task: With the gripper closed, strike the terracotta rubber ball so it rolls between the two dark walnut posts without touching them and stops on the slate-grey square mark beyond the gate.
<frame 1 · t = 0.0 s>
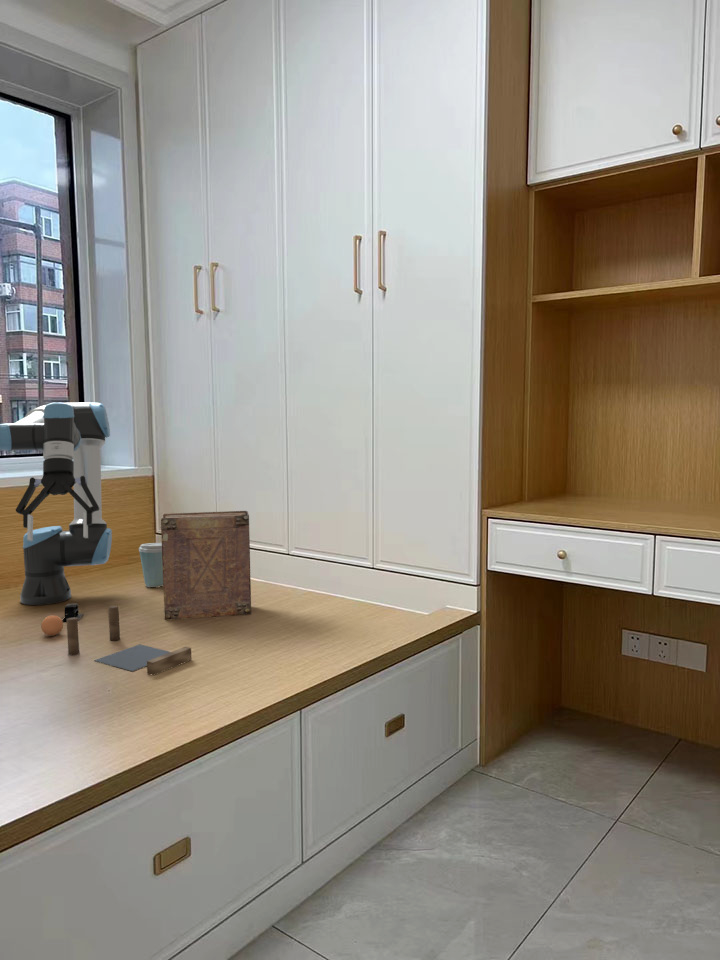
hand: (58, 539, 189), 28 cm above the counter, tool tilted 20°, fingers open, 13 cm apart
outer post: (73, 653, 184), on the counter
book: (208, 613, 219), on the counter
inner post: (115, 639, 194), on the counter
black boxy device: (72, 620, 215), on the counter
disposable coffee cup: (156, 586, 253), on the counter
stopper wall: (170, 666, 174), on the counter
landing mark: (136, 657, 180), on the counter
ball: (52, 625, 198), on the counter
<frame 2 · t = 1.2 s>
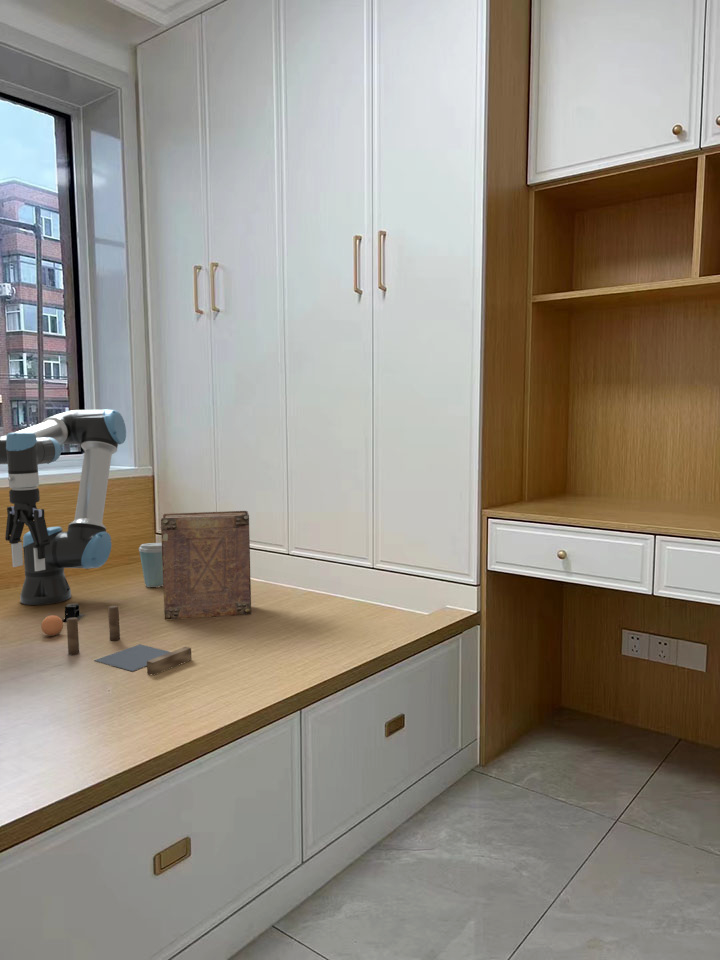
hand: (28, 568, 202), 18 cm above the counter, tool pointing down, fingers open, 10 cm apart
nothing on the counter moved.
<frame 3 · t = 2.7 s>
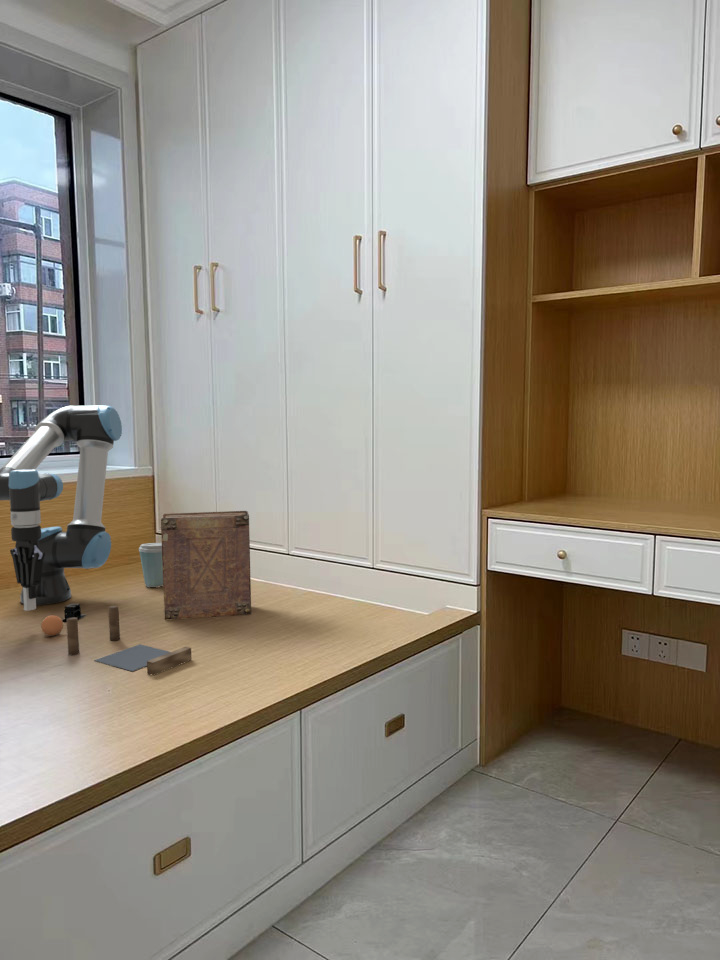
hand: (30, 609, 203), 6 cm above the counter, tool pointing down, fingers closed
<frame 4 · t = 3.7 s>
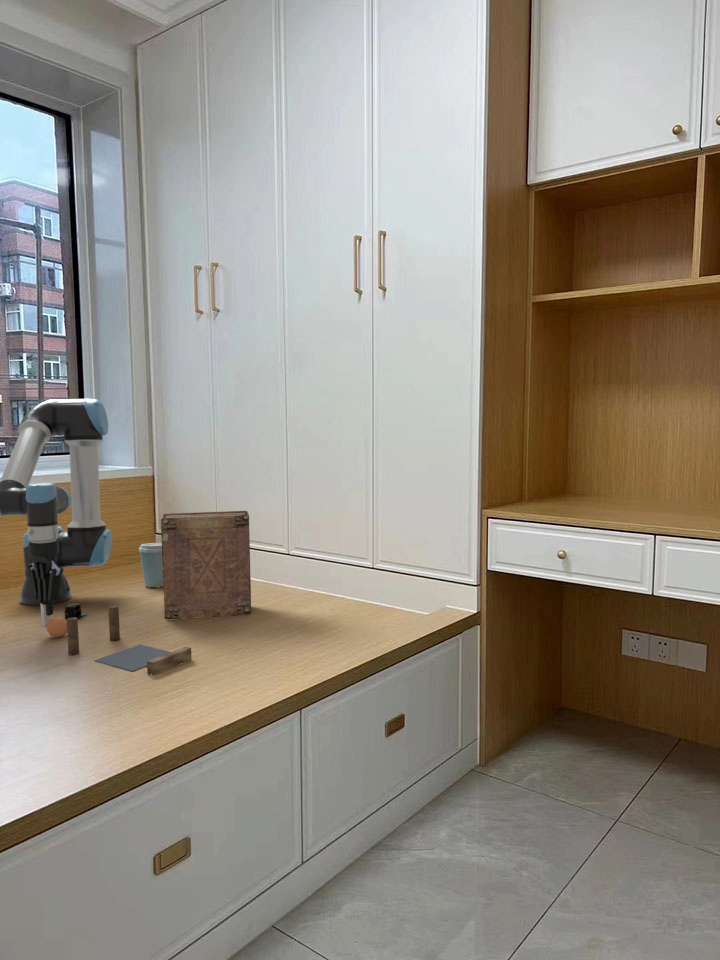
hand: (47, 626, 198), 3 cm above the counter, tool pointing down, fingers closed
ball: (58, 627, 197), on the counter
everything else where it was.
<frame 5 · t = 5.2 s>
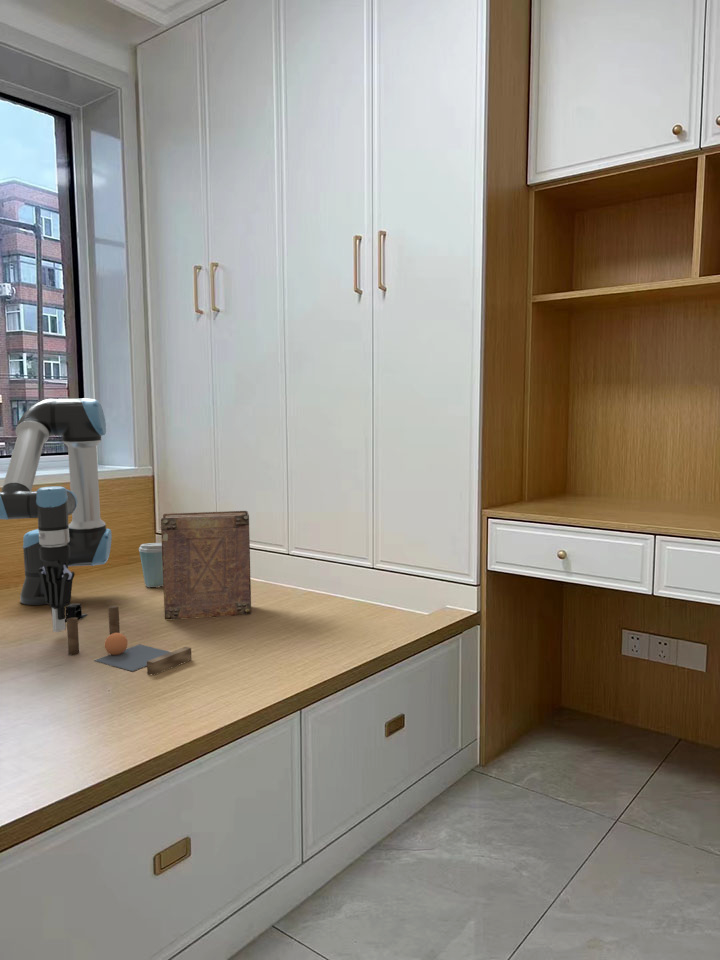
hand: (59, 630, 197), 2 cm above the counter, tool pointing down, fingers closed
ball: (116, 643, 182), on the counter
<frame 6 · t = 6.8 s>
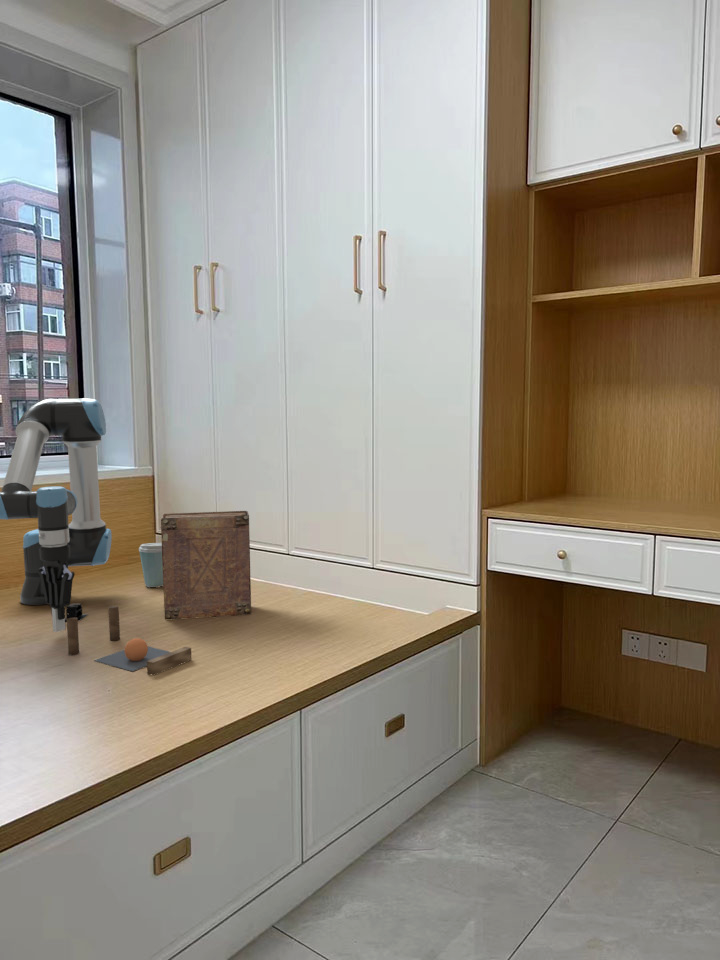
hand: (59, 630, 197), 2 cm above the counter, tool pointing down, fingers closed
ball: (136, 649, 178), on the counter
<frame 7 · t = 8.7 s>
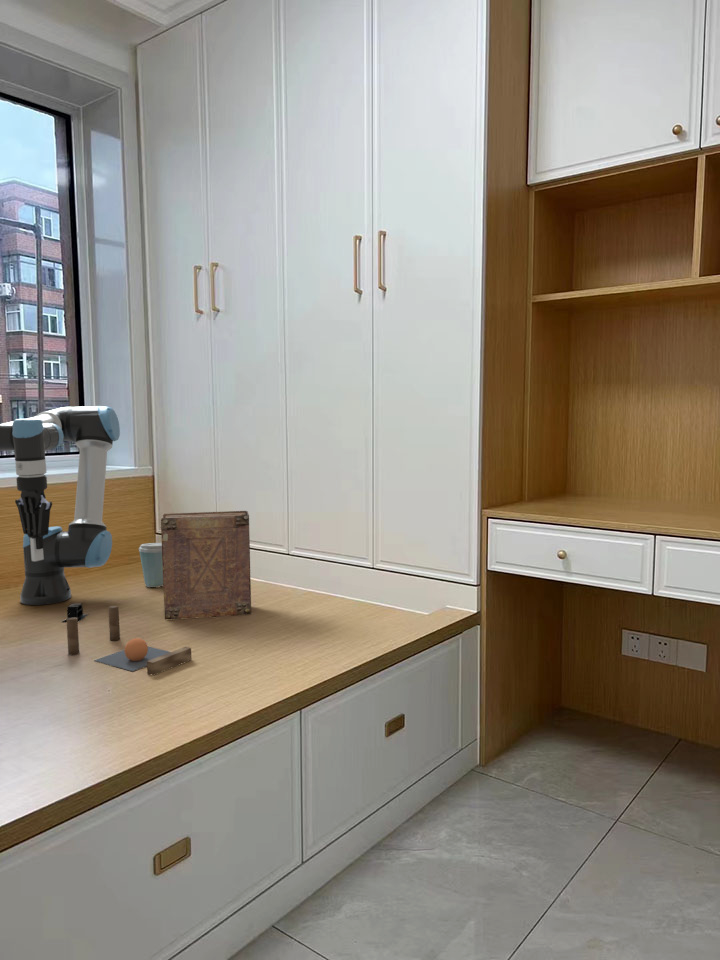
hand: (37, 560, 201), 20 cm above the counter, tool pointing down, fingers closed
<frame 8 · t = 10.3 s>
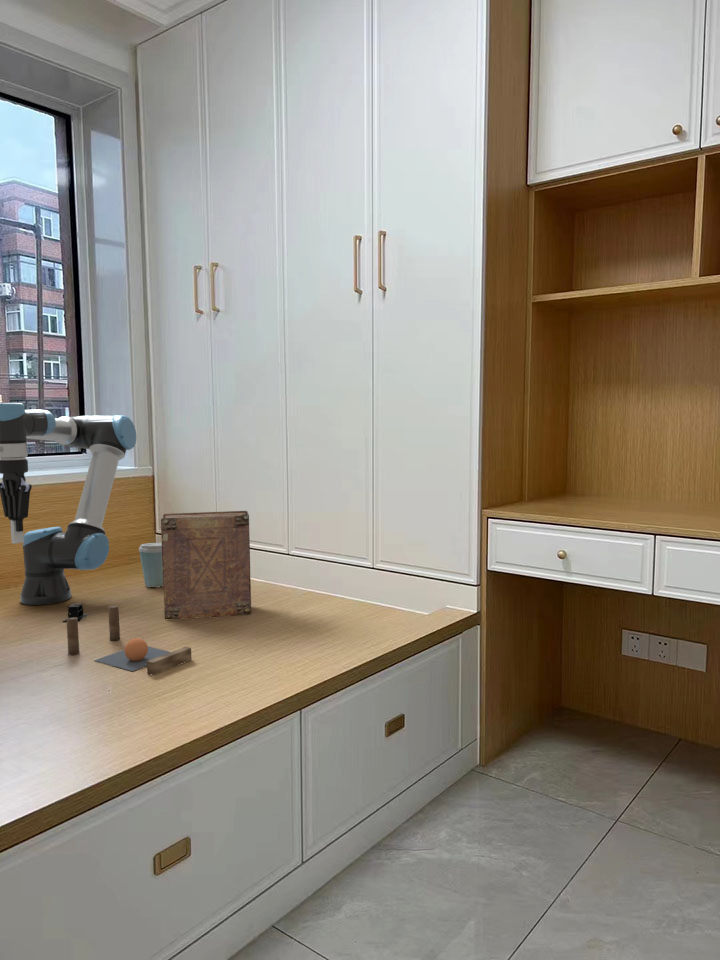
hand: (17, 542, 204), 24 cm above the counter, tool pointing down, fingers closed
at the end: ball 2.2 cm from the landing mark (horizontally); ball never touched inner post; ball never touched outer post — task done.
